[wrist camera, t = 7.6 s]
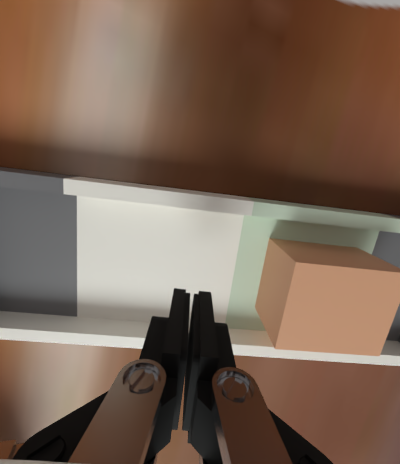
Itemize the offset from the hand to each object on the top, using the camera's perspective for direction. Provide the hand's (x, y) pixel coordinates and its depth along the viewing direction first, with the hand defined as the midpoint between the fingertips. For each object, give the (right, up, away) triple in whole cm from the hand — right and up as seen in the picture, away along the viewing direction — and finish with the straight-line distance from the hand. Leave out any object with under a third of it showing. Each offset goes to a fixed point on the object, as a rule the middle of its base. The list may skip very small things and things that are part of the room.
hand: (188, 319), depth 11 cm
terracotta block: (+8, +1, +6) cm, 9 cm away
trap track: (+2, +1, +5) cm, 6 cm away
